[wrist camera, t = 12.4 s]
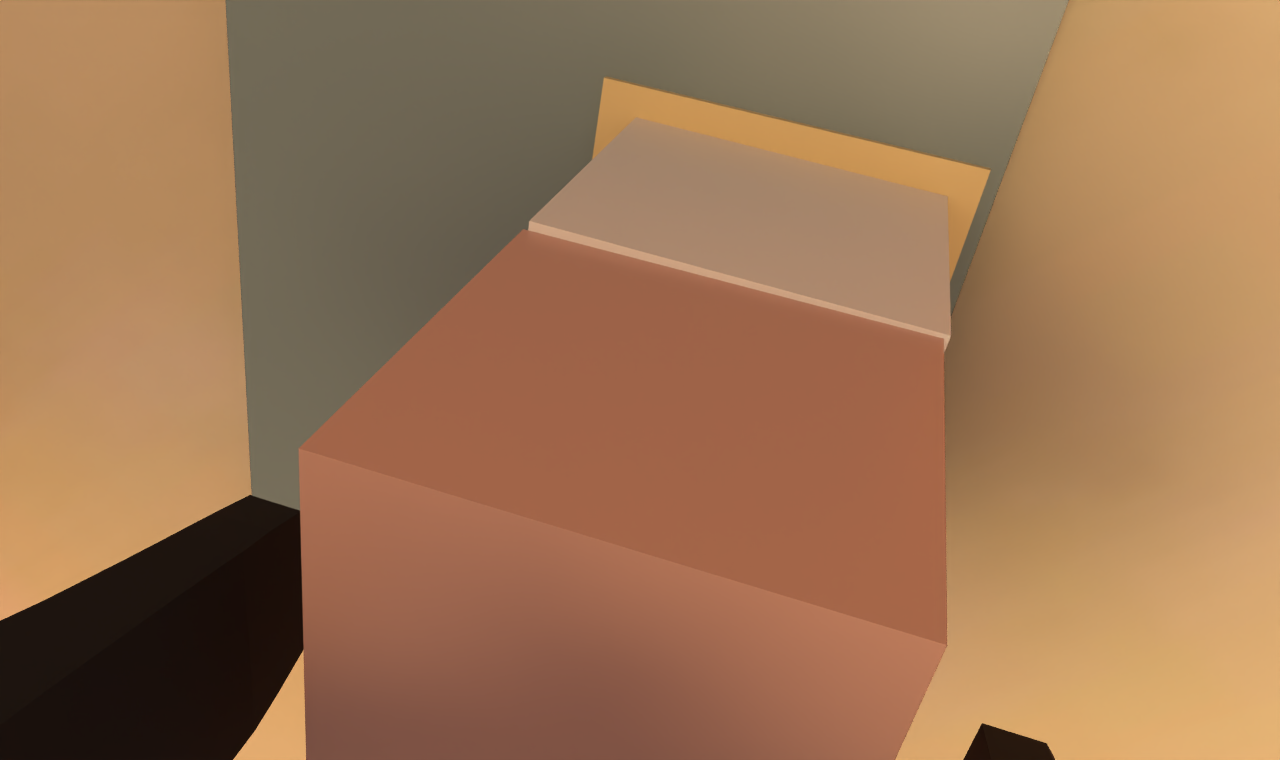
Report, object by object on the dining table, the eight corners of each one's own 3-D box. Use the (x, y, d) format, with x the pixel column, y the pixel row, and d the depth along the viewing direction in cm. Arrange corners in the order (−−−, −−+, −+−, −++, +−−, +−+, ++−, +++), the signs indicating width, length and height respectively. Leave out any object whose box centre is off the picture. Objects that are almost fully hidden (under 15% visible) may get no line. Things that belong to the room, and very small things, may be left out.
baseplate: (278, 595, 23) (256, 621, 22) (235, -538, 13) (189, -562, 12) (778, 760, 21) (773, 795, 21) (1200, -385, 11) (1219, -400, 10)
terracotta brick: (479, 641, 14) (310, 943, 10) (523, 228, 11) (299, 447, 7) (795, 743, 13) (738, 1103, 10) (944, 339, 10) (947, 645, 6)
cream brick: (575, 463, 18) (478, 635, 14) (635, 116, 15) (529, 220, 11) (825, 539, 17) (793, 740, 13) (947, 196, 14) (951, 335, 10)
